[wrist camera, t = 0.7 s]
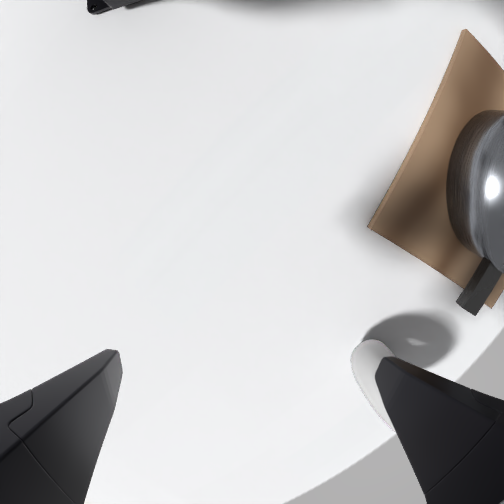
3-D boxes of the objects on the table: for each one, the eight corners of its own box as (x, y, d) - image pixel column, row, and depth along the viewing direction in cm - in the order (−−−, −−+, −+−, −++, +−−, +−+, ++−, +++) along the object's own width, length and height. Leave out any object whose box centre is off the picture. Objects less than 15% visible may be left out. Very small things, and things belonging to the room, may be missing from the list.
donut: (405, 363, 29) (448, 432, 19) (379, 383, 29) (415, 454, 20) (360, 311, 25) (413, 394, 16) (329, 336, 26) (368, 425, 17)
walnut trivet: (367, 226, 22) (370, 229, 22) (462, 30, 16) (466, 28, 16) (488, 306, 27) (491, 308, 26) (557, 159, 21) (561, 160, 20)
